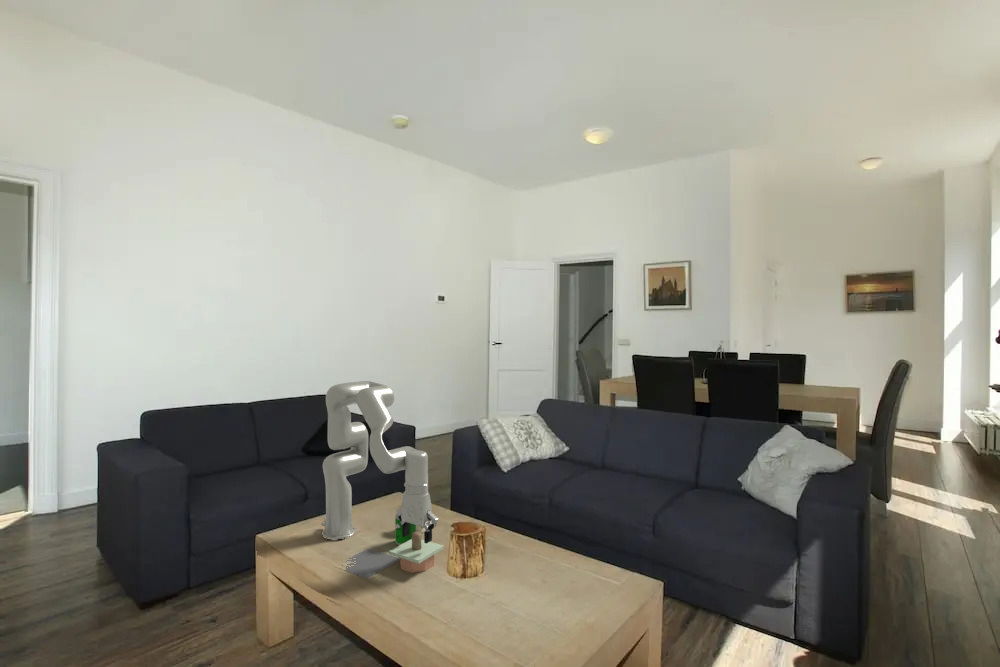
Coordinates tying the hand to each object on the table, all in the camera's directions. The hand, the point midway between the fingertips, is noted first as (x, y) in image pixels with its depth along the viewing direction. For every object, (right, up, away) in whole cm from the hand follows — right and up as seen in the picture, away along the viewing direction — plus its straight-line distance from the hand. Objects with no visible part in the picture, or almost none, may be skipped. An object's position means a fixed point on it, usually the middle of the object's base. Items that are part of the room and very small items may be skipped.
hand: (417, 538), depth 177 cm
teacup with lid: (-5, -9, +29) cm, 31 cm away
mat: (-17, -9, +1) cm, 19 cm away
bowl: (0, -9, 0) cm, 9 cm away
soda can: (-7, -9, +18) cm, 21 cm away
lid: (0, -4, 0) cm, 4 cm away
